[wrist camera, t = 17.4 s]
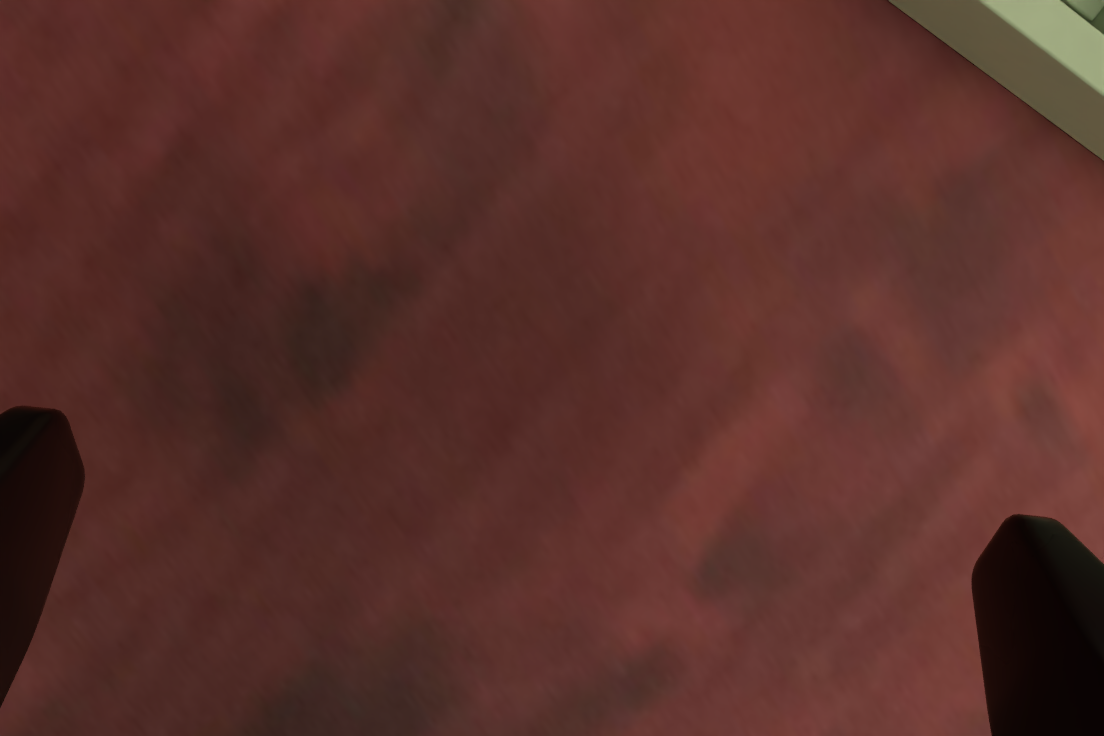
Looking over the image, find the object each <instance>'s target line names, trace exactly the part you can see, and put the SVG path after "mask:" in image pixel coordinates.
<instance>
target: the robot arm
mask: <svg viewBox="0 0 1104 736" xmlns="http://www.w3.org/2000/svg"><path fill="white" fill-rule="evenodd" d="M84 480H85V473H84V466H83V463H82V460H81V457H80V454H79V451H78V448H77V445H76V442H75V439H74V436H73V433H72V430H71V427H70V424H69V421H68V419H67V417H66V416H65V415H64V414H63V413H62V412H61V411H59V410H56V409H50V408H41V407H32V406H16V407H13V408H10V409H8V410H6V411H5V412H3V413H2V414H0V707H1V705H2V703H3V701H4V699H5V697H6V694H7V692H8V690H9V688H10V686H11V684H12V682H13V680H14V677H15V675H16V673H17V671H18V669H19V667H20V665H21V663H22V661H23V658H24V656H25V654H26V651H27V649H28V647H29V645H30V642H31V640H32V638H33V635H34V633H35V630H36V627H37V624H38V622H39V619H40V616H41V614H42V611H43V608H44V605H45V602H46V599H47V596H48V593H49V590H50V587H51V584H52V581H53V578H54V575H55V572H56V569H57V566H58V563H59V560H60V557H61V554H62V551H63V548H64V546H65V543H66V540H67V537H68V534H69V531H70V528H71V525H72V522H73V519H74V516H75V513H76V510H77V507H78V504H79V501H80V498H81V495H82V492H83V487H84ZM972 594H973V602H974V610H975V617H976V625H977V633H978V640H979V648H980V656H981V664H982V671H983V679H984V687H985V694H986V702H987V710H988V716H989V722H990V728H991V734H992V736H1104V564H1103V563H1102V562H1101V561H1100V560H1099V559H1098V558H1097V557H1096V556H1095V555H1094V554H1093V553H1092V552H1091V551H1090V550H1089V549H1088V548H1087V547H1085V546H1084V545H1083V544H1082V543H1081V542H1080V541H1079V540H1078V539H1077V538H1076V537H1075V536H1074V535H1073V534H1072V533H1071V532H1070V531H1069V530H1068V529H1067V528H1066V527H1065V526H1064V525H1062V524H1061V523H1060V522H1058V521H1057V520H1055V519H1052V518H1048V517H1040V516H1031V515H1022V514H1015V515H1012V516H1010V517H1008V518H1006V519H1005V520H1004V522H1003V523H1002V524H1001V526H1000V527H999V529H998V530H997V532H996V533H995V535H994V536H993V538H992V539H991V541H990V542H989V544H988V545H987V546H986V548H985V549H984V551H983V552H982V554H981V555H980V557H979V558H978V560H977V561H976V563H975V566H974V569H973V573H972Z"/></svg>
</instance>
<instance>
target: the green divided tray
mask: <svg viewBox="0 0 1104 736" xmlns="http://www.w3.org/2000/svg"><path fill="white" fill-rule="evenodd" d="M888 1H889V2H891V3H892V4H893V5H895V6H896V7H897V8H899V9H900V10H902V11H903V12H904V13H906V14H907V15H908V16H910V17H911V18H912V19H914V20H915V21H916V22H918V23H919V24H920V25H922V26H923V27H924V28H926V29H927V30H928V31H930V32H931V33H932V34H934V35H935V36H937V37H938V38H939V39H941V40H942V41H943V42H945V43H946V44H947V45H949V46H950V47H951V48H953V49H954V50H955V51H957V52H958V53H959V54H961V55H962V56H963V57H965V58H966V59H967V60H969V61H970V62H971V63H973V64H974V65H976V66H977V67H978V68H980V69H981V70H982V71H984V72H985V73H986V74H988V75H989V76H990V77H992V78H993V79H994V80H996V81H997V82H998V83H1000V84H1001V85H1002V86H1004V87H1005V88H1006V89H1008V90H1009V91H1011V92H1012V93H1013V94H1015V95H1016V96H1017V97H1019V98H1020V99H1021V100H1023V101H1024V102H1025V103H1027V104H1028V105H1029V106H1031V107H1032V108H1033V109H1035V110H1036V111H1037V112H1039V113H1040V114H1041V115H1043V116H1044V117H1046V118H1047V119H1048V120H1050V121H1051V122H1052V123H1054V124H1055V125H1056V126H1058V127H1059V128H1060V129H1062V130H1063V131H1064V132H1066V133H1067V134H1068V135H1070V136H1071V137H1072V138H1074V139H1075V140H1076V141H1078V142H1079V143H1080V144H1082V145H1083V146H1085V147H1086V148H1087V149H1089V150H1090V151H1091V152H1093V153H1094V154H1095V155H1097V156H1098V157H1099V158H1101V159H1102V160H1103V161H1104V0H888Z"/></svg>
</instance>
